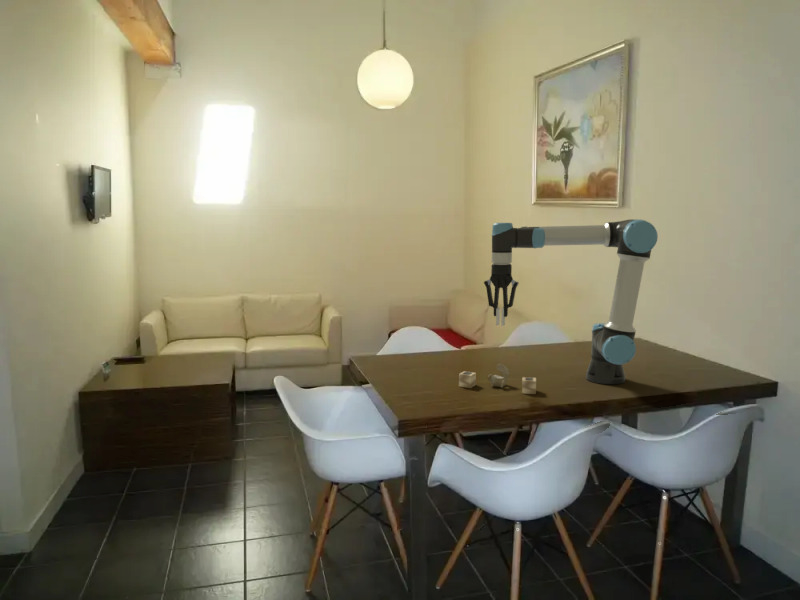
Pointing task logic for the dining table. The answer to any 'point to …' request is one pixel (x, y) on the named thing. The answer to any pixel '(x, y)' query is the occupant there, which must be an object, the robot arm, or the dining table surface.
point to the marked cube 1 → (467, 379)
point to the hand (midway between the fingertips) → (500, 324)
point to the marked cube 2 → (528, 385)
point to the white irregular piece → (499, 377)
